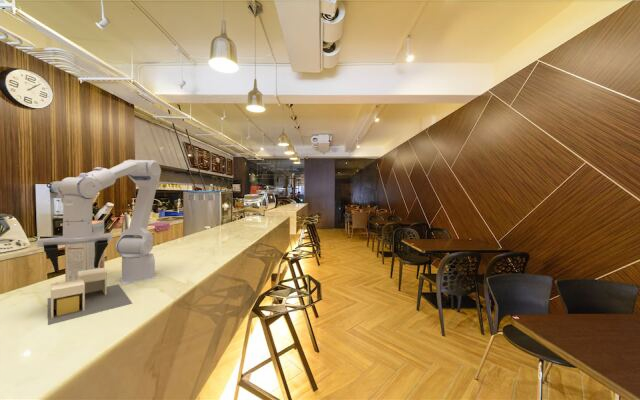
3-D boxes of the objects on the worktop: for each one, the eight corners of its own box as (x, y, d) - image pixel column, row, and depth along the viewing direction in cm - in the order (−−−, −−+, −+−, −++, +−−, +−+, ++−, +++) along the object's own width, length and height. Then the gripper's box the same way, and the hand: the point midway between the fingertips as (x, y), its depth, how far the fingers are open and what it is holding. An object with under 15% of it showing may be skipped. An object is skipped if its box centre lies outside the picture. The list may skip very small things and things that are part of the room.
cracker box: (84, 276, 90) (85, 220, 90) (105, 274, 93) (105, 220, 92) (63, 290, 77) (63, 225, 77) (87, 288, 80) (88, 224, 79)
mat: (118, 285, 82) (118, 284, 82) (132, 305, 69) (132, 303, 69) (47, 300, 70) (47, 298, 70) (47, 327, 57) (47, 325, 57)
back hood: (103, 289, 78) (103, 267, 78) (106, 294, 74) (106, 271, 74) (77, 294, 74) (77, 271, 73) (79, 300, 70) (79, 276, 69)
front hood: (82, 303, 68) (82, 278, 68) (84, 310, 64) (84, 284, 64) (50, 310, 63) (51, 284, 63) (51, 318, 60) (51, 290, 59)
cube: (77, 305, 67) (77, 291, 66) (79, 310, 64) (79, 295, 64) (56, 310, 64) (56, 295, 63) (56, 315, 61) (56, 300, 61)
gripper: (37, 223, 59) (36, 279, 59) (114, 220, 70) (113, 267, 70) (38, 221, 64) (37, 272, 64) (110, 218, 74) (109, 262, 75)
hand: (77, 269), depth 67 cm, fingers open, 7 cm apart
